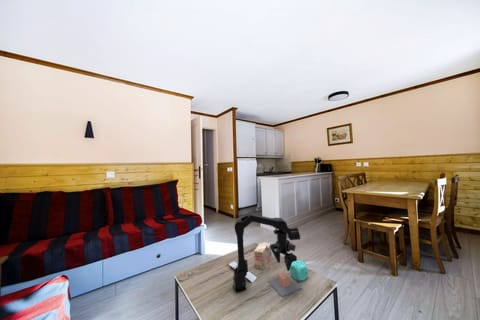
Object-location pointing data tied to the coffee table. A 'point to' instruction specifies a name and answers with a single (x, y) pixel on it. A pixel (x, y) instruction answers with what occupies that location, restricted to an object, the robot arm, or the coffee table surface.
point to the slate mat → (286, 290)
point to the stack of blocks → (262, 255)
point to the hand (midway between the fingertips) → (283, 266)
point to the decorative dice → (299, 270)
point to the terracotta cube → (284, 279)
